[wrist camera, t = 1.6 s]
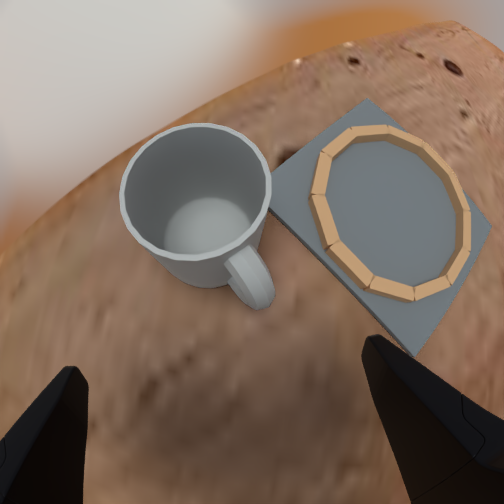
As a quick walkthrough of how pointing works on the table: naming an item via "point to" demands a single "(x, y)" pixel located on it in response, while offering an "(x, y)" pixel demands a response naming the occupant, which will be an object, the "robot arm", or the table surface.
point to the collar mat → (382, 219)
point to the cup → (202, 208)
